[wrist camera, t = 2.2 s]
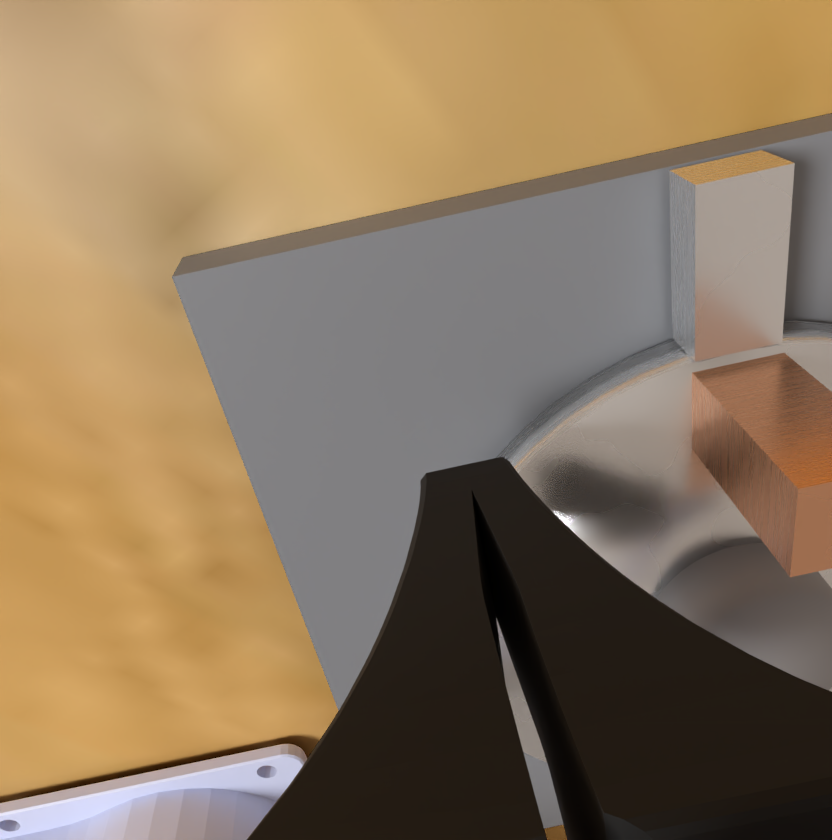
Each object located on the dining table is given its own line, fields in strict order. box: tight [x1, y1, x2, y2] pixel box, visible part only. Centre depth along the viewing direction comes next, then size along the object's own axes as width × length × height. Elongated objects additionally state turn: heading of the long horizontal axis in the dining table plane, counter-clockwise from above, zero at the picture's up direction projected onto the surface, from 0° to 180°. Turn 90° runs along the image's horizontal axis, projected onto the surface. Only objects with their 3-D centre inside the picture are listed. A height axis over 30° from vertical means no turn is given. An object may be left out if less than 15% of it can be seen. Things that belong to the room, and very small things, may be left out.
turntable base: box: [172, 113, 832, 828], centre depth 16 cm, size 18×18×4 cm
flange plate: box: [496, 150, 832, 762], centre depth 14 cm, size 12×15×4 cm
